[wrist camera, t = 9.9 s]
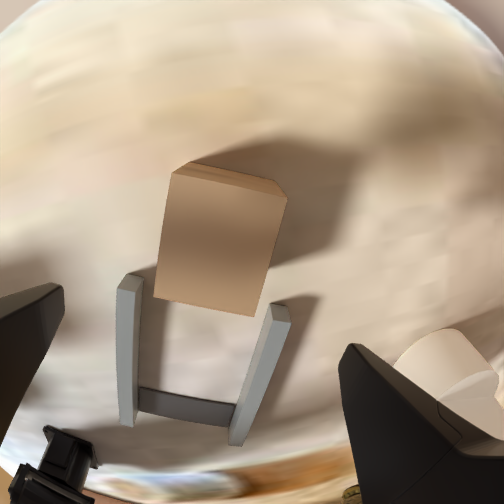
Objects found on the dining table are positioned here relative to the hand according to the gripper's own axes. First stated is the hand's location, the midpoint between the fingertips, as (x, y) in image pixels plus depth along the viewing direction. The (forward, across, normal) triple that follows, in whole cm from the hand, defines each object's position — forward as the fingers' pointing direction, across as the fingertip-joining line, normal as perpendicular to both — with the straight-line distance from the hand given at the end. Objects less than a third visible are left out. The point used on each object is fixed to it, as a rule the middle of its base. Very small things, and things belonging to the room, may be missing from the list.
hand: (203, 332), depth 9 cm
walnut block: (+11, 0, 0) cm, 11 cm away
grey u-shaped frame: (+10, 0, +11) cm, 15 cm away
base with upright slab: (+11, -21, +9) cm, 25 cm away
